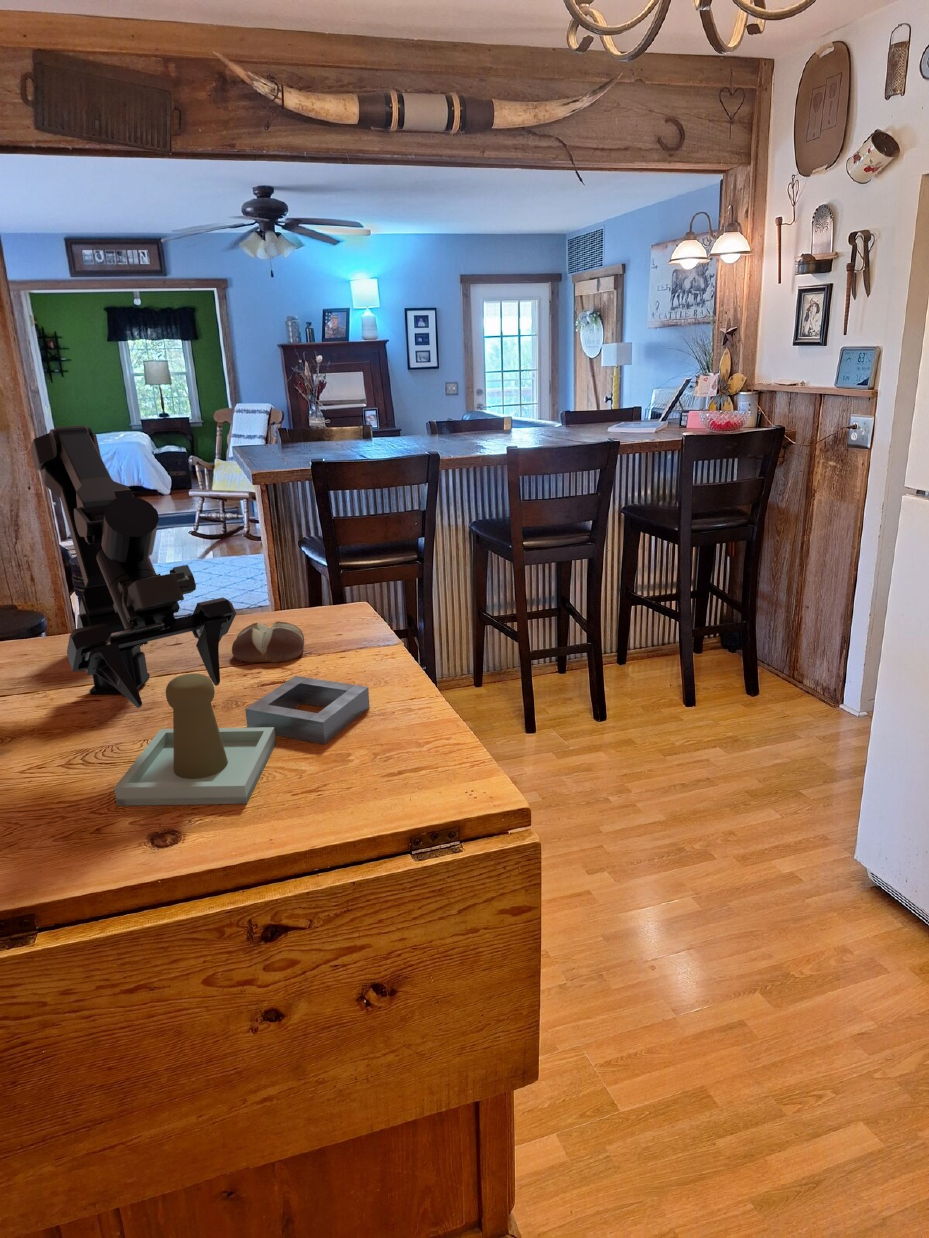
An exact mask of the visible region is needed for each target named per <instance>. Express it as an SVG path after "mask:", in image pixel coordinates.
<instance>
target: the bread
mask: <svg viewBox="0 0 929 1238" xmlns="http://www.w3.org/2000/svg"><path fill="white" fill-rule="evenodd" d="M304 646H305V636H304V633H303V631H302V630H301V629H300V628H299V627H298V626H297V625H295V624H294V623H293V624H292V623H289V622H285V621H276V622H274V623H273V625H272V626H271V627H268V626H267V625H265V624H263V623H261V622H254V623H251V624H250V625H248V626H246V627H244V628H243V629H242V630H241V631H240V632H239V633H238V634H237V636H236V639H235V640H234V641H233V643H232V646H231V652H232V655H233V657H234V659H236V660H237V661H240V662H242V661H244V662H245V663H267V662H268V663H276V662H277V663H279V662H289V661H292V660H294V659H297V658H298V657H300V656H301V654H302V653H303V651H304ZM244 662H243V663H244Z"/></svg>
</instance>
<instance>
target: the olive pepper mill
mask: <svg viewBox="0 0 929 1238" xmlns="http://www.w3.org/2000/svg"><path fill="white" fill-rule="evenodd" d="M215 693H216V691H215V685H214V683H213V682H212V680H211V679H210V677H209V676H207V675H205V674H201V673H195V672H194V673H187V674H185V673H184V674H182V675H178V676H176V677H174V678H173V679H171V680H170V681H169V682H168V683H167V686H166V688H165V698H166V701H167V704H168V705H169V707H170V708H172V710H173V717H172V719H173V721H172V722H173V725H172V726H173V728H172V729H173V745H174V773H175V774H176V775H177V776H179V777H181V778H187V779H198V778H204V777H208V776H211V775H214V774H216V773H218V772H220V771H222V770H223V769H224V768H225V767H226V766H227V764H228V760H227V757H226V753H225V750H224V746H223V743H222V739H221V736H220V732H219V729H218V728H219V726H218V723H217V720H216V716H215V712H214V709H213V706H212V702H213V700H214V698H215Z"/></svg>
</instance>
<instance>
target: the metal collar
mask: <svg viewBox="0 0 929 1238" xmlns="http://www.w3.org/2000/svg"><path fill="white" fill-rule="evenodd" d="M369 694H370V693H369V686H366V685H365V686H364V685H358V684H353V683H352V684H351V683H345V682H338V681H333V680H325V679H319V678H313V677H312V678H311V677H306V676H301V675H300V676H298V675H294V676H293V677H292V678H290V679H288V680H287V681H285V682H283V684H281V685H279V686H278V687H276V688H274V689H273V690H272V691H270V692H269V693H267V694H265V695H264V696H262V697H261V698H260V699H258V700H256V701H254V702H253V703H252V704H249V706H247V707H246V708H245V709H244V711H245V718H246V720H245V721H246V728H258V727H274V730H275V736H279V737H283V738H289V739H295V740H298V741H299V740H301V741H305V742H310V743H317V744H320V745H321V744H322V745H326V744H327V743H328V742H330V741H331V740H332V739H333V738H335V737H336V735H339V733H341V731H343V730H344V729H345V728H346V727H348V726H349V725H350V724H351V723H352V722H353V721H354V720H356V719H358V717H360V716H361V715H362V714H363V713H365V712H366V711H367V710H368V709H369V708H370V695H369ZM301 704H305V705H309V706H310V705H312V706H316V707H323V709H322V710H320V711H319V712H312V711H308V710H307V711H306V710H302V709H301V710H300V709H296V708H297V707H298V706H299V705H301Z"/></svg>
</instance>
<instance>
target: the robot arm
mask: <svg viewBox="0 0 929 1238" xmlns="http://www.w3.org/2000/svg"><path fill="white" fill-rule="evenodd" d="M30 445H31V446H30V453H31V459H32V463H33V466H34V469H35V471H40V476H41V478H42V482H43V484H44V486H45V487H46V488H48V489H49V490H50V491H51V492H52V493H53V494H55V495H56V496H57V497H59V499H60V502H61V504H62V505H61V506H62V508H63V512H64V516H65V519H66V523H67V526H68V529H69V533H70V537H71V540H72V543H73V547H74V548H73V549H74V551H75V554H76V556H77V559H78V562H79V566H80V569H81V573H82V576H83V580H84V583H85V590H84V593H83V595H82V599H81V604H80V608H79V614H77V621H76V622H77V623H76V624H77V625H76V628H73V630H72V631H71V633H70V634H69V636H68V637H69V638H68V645H67V649H66V655H67V660H68V663H69V665H70V668H71V670H72V672H75V673H78V672H82V671H85V672H86V674H87V676H88V675H89V676H92V680H93V686H92V687H91V688H90V689H89V690H88V692H89V694H90V695H100V694H101V695H109V694H112V695H113V694H118V695H119V694H121V695H123V697H125V698H126V699H127V700H128V701H129V702H131V704H133V705H134V706H135V707H136V708H137V709H139V708H142V707H143V701H142V699H141V695H140V693H139V689H140V688H141V687H142V685H144V683H146V682H147V680H149V679H150V677H151V675H150V673H149V672H148V667H147V660H146V654H145V652H144V651H142V650H141V647H140V645H142V644H144V645H148V643H149V642H151V641H156V640H160V639H164V638H169V637H173V636H176V635H180V634H181V635H182V634H186V633H192V635H193V636H194V638H195V639H197V641H196V646H195V647H196V649H197V651H198V653H199V656H200V658H201V661H202V662H203V665H204V667H205V670H206V672H207V674H208V677H209V678H210V679H211V681H212V683H213V685H214V687H218V686H219V685H220V683H221V673H220V671H221V670H220V658H219V657H220V656H219V655H220V650H219V647H220V646H219V645H220V642H221V641H222V638H223V636H225V635H227V634H228V632H229V630H230V629H231V626H232V623H233V622H234V619H235V618H236V615H237V611H236V610H235V608H234V605H233V602H231V601H230V600H228V599H227V598H225V597H219V598H213V599H210V600H209V599H208V600H206V601H205V600H204V601H199V602H197V603H196V606H195V607H194V611H193V612H192V614H189V615H185V616H184V615H183V616H181V617H180V616H179V617H176V616H175V614H176V613H179V611H180V608H181V607H180V604H179V602H182V601H184V600H185V596H184V595H188V594H191V593H192V592H194V591H196V590H197V589H196V588H197V584H196V580H195V577H194V574H193V573H192V570H191V568H190V566H189V564H185V565H184V564H183V565H178V566H173V568H172V569H169V573H167V574H162V575H161V574H160V573H158V574H157V572H156V570H155V568H154V565H153V563H152V561H151V558H150V556H152V554H153V553H154V547H155V543H156V536H157V530H158V525H159V519H160V518H159V513H158V509H157V508H155V507H154V506H153V505H152V504H151V503H150V502H148V501H147V500H145V499H143V498H141V497H137V496H134V493H133V491H132V489H130V488H129V487H128V486H127V485H125V484H122V483H119V482H117V481H114V480H113V478H112V477H111V476H112V475H110V472H109V471H108V468H107V466H106V465H105V463H104V461H103V458H102V455H101V451H100V450H101V449H100V446H99V442H98V438H97V434H96V433H93V430H92V428H91V426H86V425H84V424H83V425H68V426H56V427H54V428H52V429H50V430H49V432H48V433H45V434H42V435H41V436H38V437H35V438H34V439H32V443H31V444H30ZM144 645H142V646H144Z"/></svg>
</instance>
